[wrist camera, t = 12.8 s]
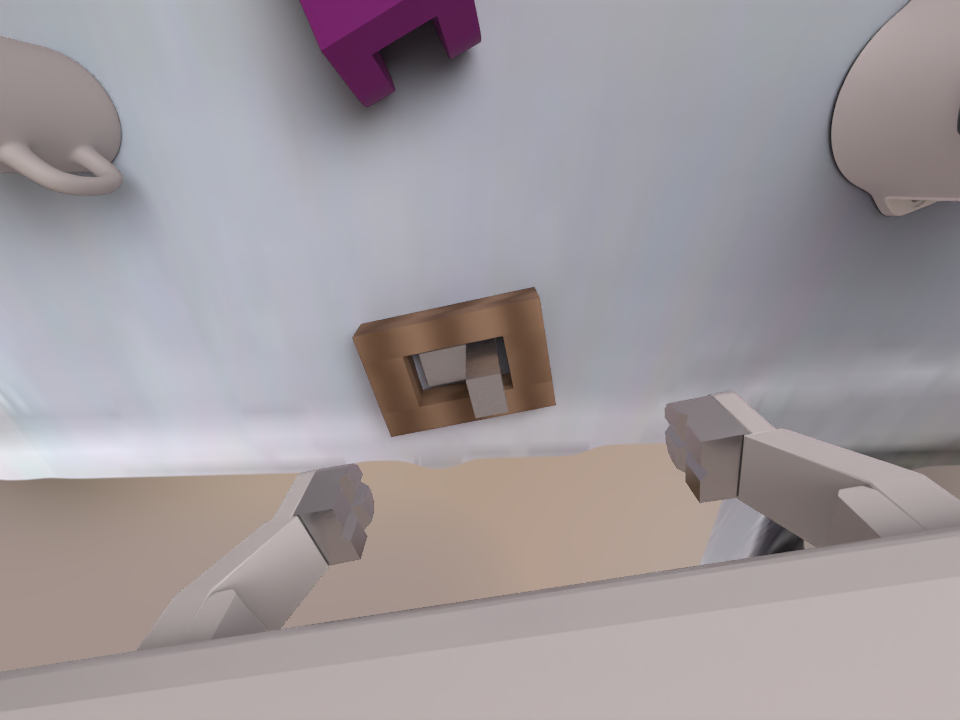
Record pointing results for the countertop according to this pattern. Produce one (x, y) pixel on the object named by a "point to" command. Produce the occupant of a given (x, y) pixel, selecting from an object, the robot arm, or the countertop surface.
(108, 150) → the mug
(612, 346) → the countertop surface
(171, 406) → the countertop surface
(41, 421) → the countertop surface
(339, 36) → the mounting bracket
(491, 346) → the angle bracket
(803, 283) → the countertop surface
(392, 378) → the well block
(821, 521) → the robot arm
